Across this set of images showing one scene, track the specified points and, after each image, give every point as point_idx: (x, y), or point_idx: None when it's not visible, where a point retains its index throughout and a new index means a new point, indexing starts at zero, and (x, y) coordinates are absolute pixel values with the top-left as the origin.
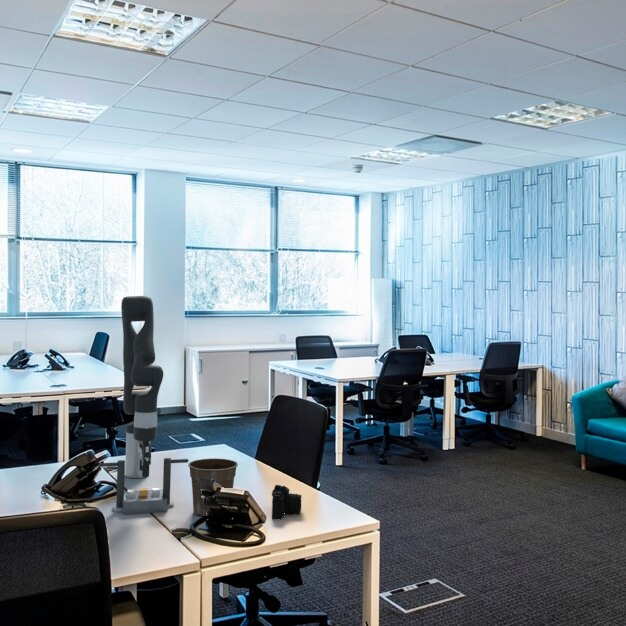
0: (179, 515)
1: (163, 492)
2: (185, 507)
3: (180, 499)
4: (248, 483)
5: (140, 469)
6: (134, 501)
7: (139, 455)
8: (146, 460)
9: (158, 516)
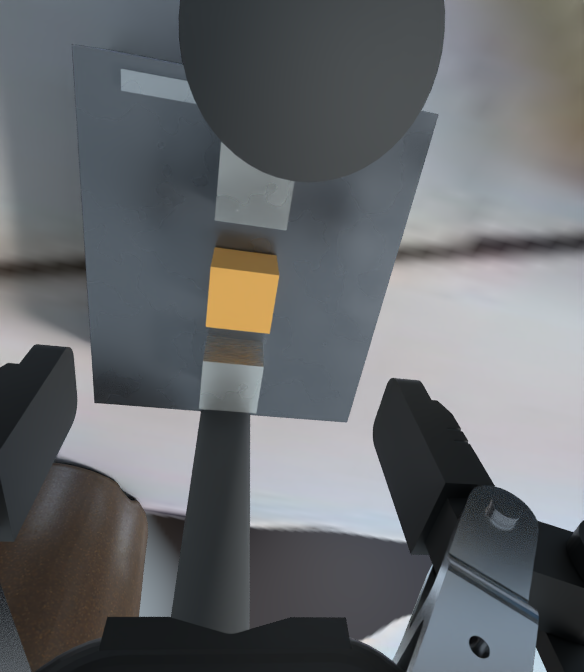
0: None
1: (214, 413)
2: (169, 447)
3: (319, 455)
4: None
5: (391, 389)
6: (86, 165)
7: (516, 544)
8: (408, 540)
9: (23, 289)
